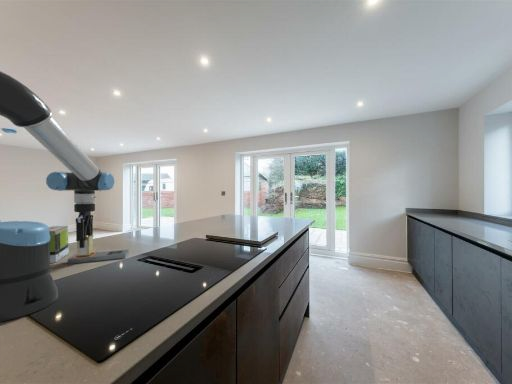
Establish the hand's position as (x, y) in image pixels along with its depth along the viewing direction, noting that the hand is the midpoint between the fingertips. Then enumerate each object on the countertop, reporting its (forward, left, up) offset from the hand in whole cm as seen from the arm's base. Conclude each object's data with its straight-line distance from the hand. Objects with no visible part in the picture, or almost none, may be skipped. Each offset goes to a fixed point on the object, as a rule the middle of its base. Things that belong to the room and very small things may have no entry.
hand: (85, 252), depth 97 cm
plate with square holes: (0, -6, -3) cm, 7 cm away
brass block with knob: (0, 0, -2) cm, 2 cm away
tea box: (+7, +16, -4) cm, 18 cm away
